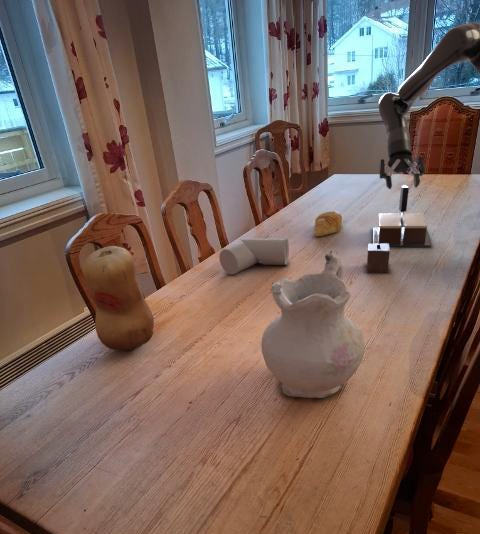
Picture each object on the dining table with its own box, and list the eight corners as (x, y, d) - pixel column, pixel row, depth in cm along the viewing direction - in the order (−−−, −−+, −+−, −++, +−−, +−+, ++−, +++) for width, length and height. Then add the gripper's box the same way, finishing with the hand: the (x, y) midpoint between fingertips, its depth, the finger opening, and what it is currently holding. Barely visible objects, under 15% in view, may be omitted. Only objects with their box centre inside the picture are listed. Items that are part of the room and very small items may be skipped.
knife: (401, 234, 152) (406, 185, 143) (403, 237, 149) (408, 187, 141) (396, 234, 152) (401, 186, 144) (398, 237, 150) (403, 187, 141)
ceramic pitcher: (286, 347, 100) (273, 247, 89) (372, 353, 93) (370, 244, 81) (255, 408, 83) (234, 294, 72) (358, 422, 76) (353, 296, 64)
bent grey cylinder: (257, 247, 152) (215, 266, 141) (260, 219, 146) (217, 237, 134) (296, 268, 143) (255, 290, 131) (301, 239, 136) (258, 260, 125)
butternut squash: (93, 362, 100) (61, 263, 88) (115, 331, 112) (89, 240, 99) (149, 362, 98) (125, 261, 86) (166, 331, 110) (146, 238, 97)
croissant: (323, 248, 158) (332, 231, 153) (301, 233, 160) (309, 215, 155) (344, 229, 173) (354, 212, 167) (324, 215, 175) (333, 199, 169)
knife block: (387, 264, 133) (389, 243, 129) (387, 273, 128) (389, 250, 124) (366, 264, 134) (368, 243, 131) (366, 272, 129) (368, 250, 126)
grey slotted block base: (424, 229, 156) (427, 211, 153) (430, 247, 141) (433, 227, 138) (373, 229, 161) (374, 211, 157) (373, 247, 146) (374, 227, 143)
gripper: (379, 139, 145) (383, 182, 141) (423, 136, 144) (429, 179, 140) (375, 153, 152) (379, 194, 148) (417, 150, 151) (422, 191, 147)
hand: (403, 187), depth 144 cm, fingers open, 8 cm apart
